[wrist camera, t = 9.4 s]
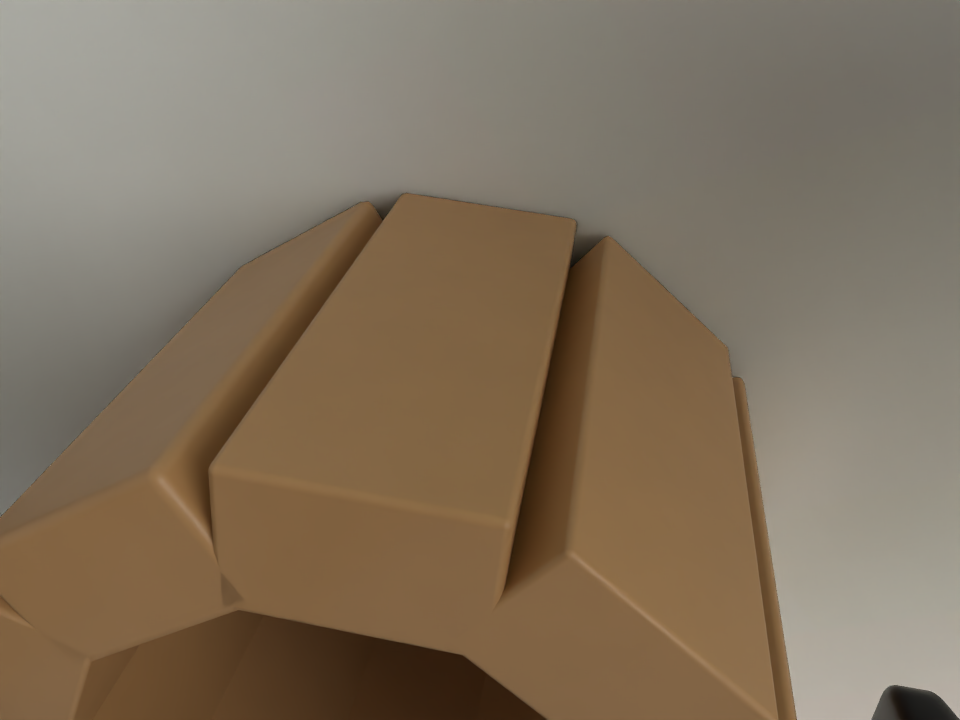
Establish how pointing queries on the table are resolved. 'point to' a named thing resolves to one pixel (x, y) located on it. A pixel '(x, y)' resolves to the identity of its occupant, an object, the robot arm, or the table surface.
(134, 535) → the wooden segmented ring
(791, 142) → the table surface
